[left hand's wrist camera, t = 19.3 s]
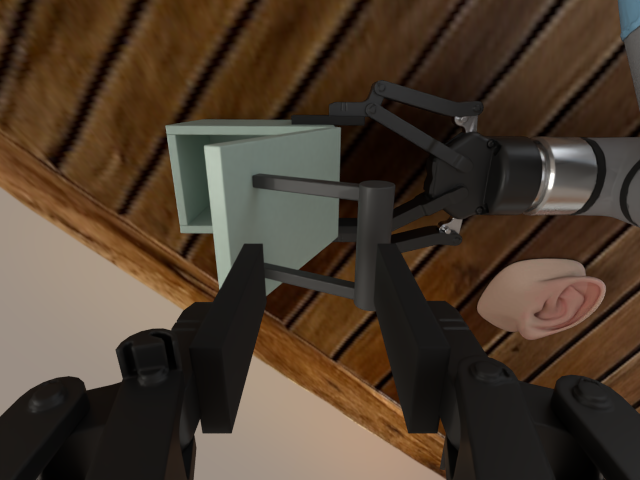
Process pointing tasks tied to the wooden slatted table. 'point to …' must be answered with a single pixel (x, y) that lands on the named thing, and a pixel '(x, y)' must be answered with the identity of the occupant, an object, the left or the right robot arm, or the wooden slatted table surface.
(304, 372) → the wooden slatted table surface
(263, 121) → the chest
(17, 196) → the wooden slatted table surface
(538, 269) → the anatomical model
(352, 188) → the lid
